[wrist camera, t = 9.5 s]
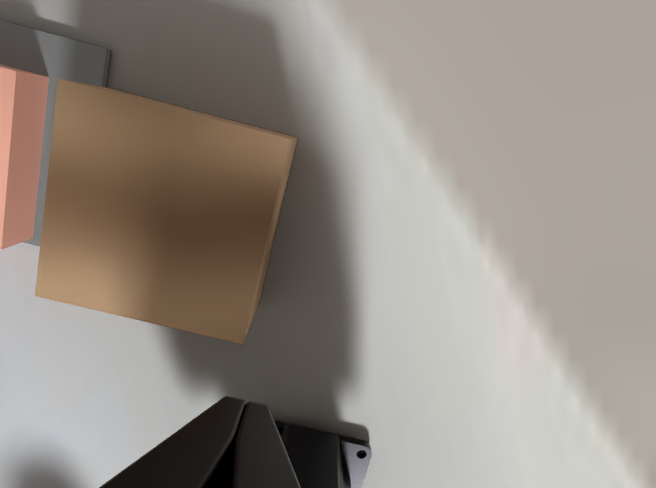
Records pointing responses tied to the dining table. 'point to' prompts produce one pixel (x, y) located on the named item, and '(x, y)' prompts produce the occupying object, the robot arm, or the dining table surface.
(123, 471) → the robot arm
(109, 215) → the brown square block
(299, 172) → the dining table surface
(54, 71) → the mat
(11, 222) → the pink block
